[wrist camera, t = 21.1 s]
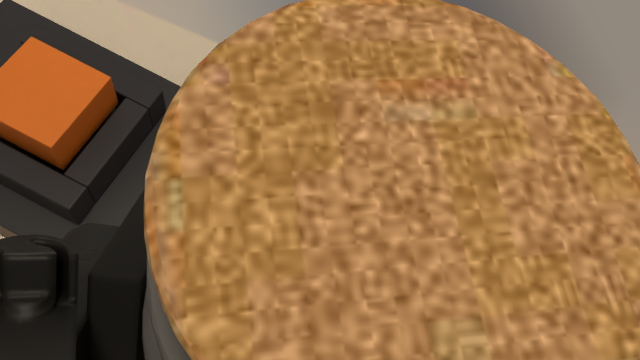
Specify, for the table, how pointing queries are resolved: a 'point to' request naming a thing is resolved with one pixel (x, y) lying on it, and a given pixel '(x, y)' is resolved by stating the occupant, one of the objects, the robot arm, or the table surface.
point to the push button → (98, 152)
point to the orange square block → (52, 102)
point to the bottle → (389, 196)
